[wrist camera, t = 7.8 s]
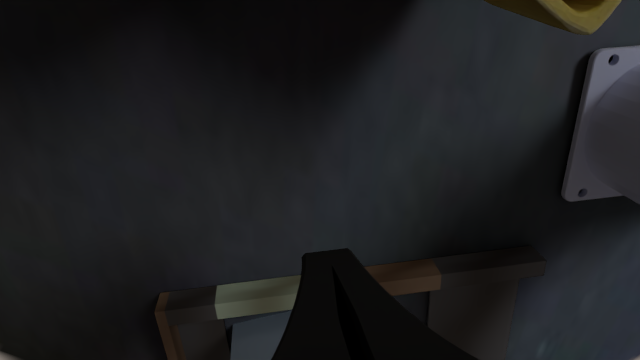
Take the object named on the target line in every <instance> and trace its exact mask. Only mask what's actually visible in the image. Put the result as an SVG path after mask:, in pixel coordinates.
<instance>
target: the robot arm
mask: <svg viewBox="0 0 640 360" xmlns="http://www.w3.org/2000/svg"><path fill="white" fill-rule="evenodd" d="M612 55H613V59H612V61H611V62H610V63H609V62H608V60H609V58H610V57H611V56H612ZM581 189H582V191H581V192H580V193H579V191H580V190H581ZM561 196H562V197H563V198H564V199H565V200H567V201H569V202H573V201H582V200H590V199H599V198H607V197H615V196H626V197H627V198H629V199H631V200H633V201H634V202H636V203H638V204H639V205H640V45H639V46H627V47H615V48H603V49H598V50H596V51H595V52H593V53H592V55H591V56H590V58H589V62H588V66H587V71H586V76H585V81H584V85H583V90H582V95H581V100H580V105H579V109H578V114H577V119H576V124H575V129H574V133H573V138H572V143H571V148H570V152H569V157H568V162H567V167H566V172H565V176H564V181H563V186H562V191H561ZM271 360H479V359H477V358H475V357H474V356H472V355H470V354H468V353H467V352H465V351H464V350H462V349H460V348H459V347H457V346H455V345H454V344H452V343H451V342H449V341H447V340H446V339H444V338H443V337H441V336H440V335H438V334H437V333H436V332H434V331H433V330H431V329H430V328H429V327H427V326H426V325H425V324H423V323H422V322H421V321H420V320H418V319H417V318H416V317H415V316H414V315H412V314H411V313H410V312H409V311H408V310H406V309H405V308H404V307H403V306H402V305H401V304H400V303H399V302H397V301H396V300H395V299H394V298H393V297H392V296H391V295H390V294H389V293H388V292H387V291H386V290H385V289H384V288H383V287H382V286H381V285H380V284H379V283H378V282H377V281H376V280H375V279H374V278H373V277H372V275H371V274H370V273H369V272H368V271H367V270H366V269H365V268H364V266H363V265H362V264H361V263H360V262H359V260H358V259H357V258H356V257H355V255H354V254H353V253H352V251H350V250H349V249H348V248H345V249H337V250H329V251H321V252H313V253H305V254H304V255H303V256H302V272H301V278H300V283H299V287H298V291H297V295H296V299H295V303H294V306H293V309H292V312H291V314H290V317H289V320H288V323H287V326H286V328H285V331H284V333H283V335H282V338H281V340H280V342H279V344H278V347H277V349H276V351H275V353H274V355H273V357H272V359H271Z"/></svg>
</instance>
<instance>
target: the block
mask: <svg viewBox="0 0 640 360" xmlns="http://www.w3.org/2000/svg"><path fill="white" fill-rule="evenodd" d="M291 312H292V310H291V311H287V312H283V313H279V314H274V315H270V316H266V317H262V318H257V319H253V320H249V321H245V322H241V323H236V324H233V330H232V344H231V358H230V360H271V359H272V357H273V355H274V353H275V351H276V349H277V347H278V344H279V342H280V340H281V338H282V335H283V333H284V331H285V328H286V326H287V323H288V320H289V317H290V314H291Z"/></svg>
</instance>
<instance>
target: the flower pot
mask: <svg viewBox="0 0 640 360" xmlns="http://www.w3.org/2000/svg"><path fill="white" fill-rule="evenodd" d="M484 1H486V2H488V3H490V4H492V5H494V6H497V7H500V8H503V9H505V10H508V11H511V12H514V13H517V14H519V15H522V16H525V17H528V18H531V19H534V20H536V21H539V22H542V23H545V24H548V25H551V26H553V27H557V28H560V29H563V30H566V31H569V32H572V33H575V34H580V35H589V34H592V33H593V32H595V31H596V30H597V29H598V28H599V27H600V26H601V25H602V24H603V23H604V22H605V20H606V19H607V18H608V17H609V16H610V15H611V14H612V12H613V11H614V9H615V8H616V7H617V6H618V4H619V3H620V2H621V1H622V0H484Z"/></svg>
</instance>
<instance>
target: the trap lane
mask: <svg viewBox="0 0 640 360" xmlns="http://www.w3.org/2000/svg"><path fill="white" fill-rule="evenodd" d="M546 262H547V261H546V260H545V259H544V258H543V257H542V256H541V255H540V254H539V253H538V252H537V251H536V250H535V249H534V248H533V247H532V246H524V247H516V248H508V249H500V250H492V251H485V252H477V253H469V254H461V255H453V256H445V257H437V258H430V259H422V260H414V261H406V262H398V263H390V264H383V265H375V266H367V267H364V268H365V269H366V270H367V271H368V272H369V273H370V274H371V275H372V277H373V278H374V279H375V280H376V281H377V282H378V283H379V284H380V285H381V286H382V287H383V288H384V289H385V290H386V291H387V292H388V293H389V294H390V295H391V296H395V295H402V294H410V293H417V292H425V291H429V299H428V314H427V327H429V328H430V329H431V330H433V331H434V332H436V333H437V334H438V335H440V336H441V337H443V338H444V339H446V340H447V341H449V342H451V343H452V344H454V345H455V346H457V347H459V348H460V349H462V350H464V351H465V352H467V353H468V354H470V355H472V356H474V357H475V358H477V359H479V360H505V357H506V351H507V345H508V340H509V334H510V329H511V323H512V318H513V312H514V307H515V301H516V295H517V290H518V284H519V279H521V278H529V277H536V276H543V275H544V271H545V267H546ZM300 278H301V275H296V276H288V277H281V278H273V279H265V280H257V281H249V282H241V283H234V284H226V285H218V286H210V287H202V288H194V289H187V290H179V291H171V292H163V293H160V295H159V298H158V302H157V305H156V308H155V312H154V313H155V317H156V320H157V324H158V327H159V331H160V334H161V338H162V341H163V345H164V348H165V352H166V355H167V359H168V360H230V358H231V353H230V348H229V343H228V338H227V333H226V328H225V323H224V318H232V317H239V316H247V315H254V314H262V313H269V312H276V311H284V310H291V309H293V306H294V303H295V299H296V295H297V291H298V287H299V283H300Z"/></svg>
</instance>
